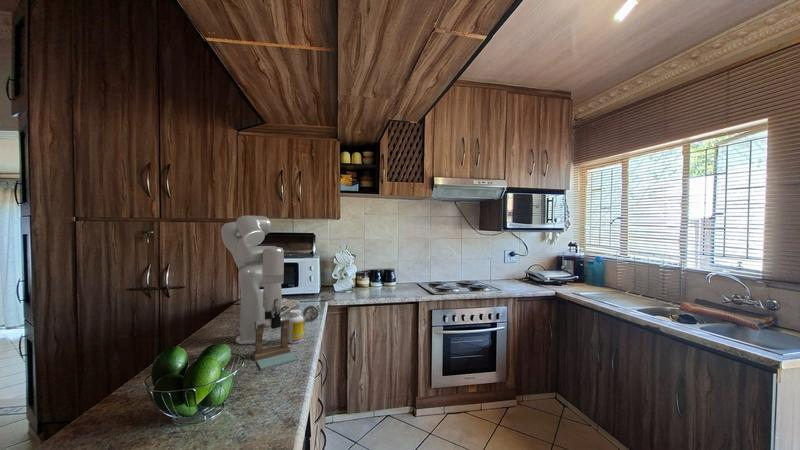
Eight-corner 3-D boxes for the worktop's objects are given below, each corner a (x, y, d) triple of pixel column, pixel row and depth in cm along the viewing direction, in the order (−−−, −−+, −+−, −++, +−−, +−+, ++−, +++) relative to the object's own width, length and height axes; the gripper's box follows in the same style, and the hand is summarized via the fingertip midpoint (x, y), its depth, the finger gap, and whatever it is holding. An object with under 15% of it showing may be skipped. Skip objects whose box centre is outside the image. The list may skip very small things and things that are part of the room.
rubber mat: (256, 362, 101) (256, 360, 101) (291, 353, 109) (291, 352, 109) (261, 370, 96) (261, 368, 96) (297, 360, 103) (297, 358, 103)
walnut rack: (252, 354, 107) (253, 321, 107) (285, 347, 115) (286, 316, 115) (255, 360, 102) (256, 325, 103) (290, 352, 110) (290, 319, 110)
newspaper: (272, 321, 147) (272, 314, 147) (249, 320, 148) (249, 314, 148) (300, 304, 183) (300, 298, 183) (282, 303, 183) (282, 297, 183)
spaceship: (289, 315, 130) (305, 309, 131) (309, 304, 165) (322, 298, 165) (295, 332, 129) (311, 325, 130) (314, 317, 164) (327, 311, 165)
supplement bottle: (306, 339, 123) (306, 309, 123) (297, 345, 117) (297, 313, 117) (293, 337, 125) (293, 308, 125) (283, 343, 119) (283, 312, 119)
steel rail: (257, 331, 104) (257, 324, 103) (255, 326, 106) (256, 319, 106) (288, 325, 111) (288, 318, 110) (285, 320, 113) (286, 314, 112)
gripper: (257, 277, 114) (256, 320, 113) (267, 283, 100) (267, 333, 99) (277, 275, 118) (276, 317, 118) (289, 281, 104) (289, 328, 104)
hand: (272, 324), depth 108 cm, fingers open, 9 cm apart
